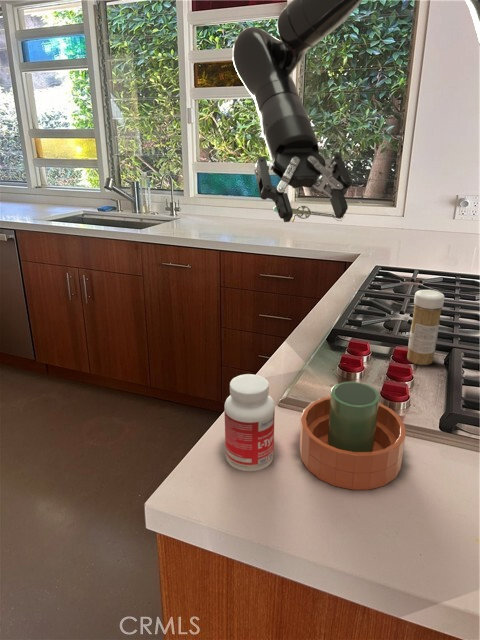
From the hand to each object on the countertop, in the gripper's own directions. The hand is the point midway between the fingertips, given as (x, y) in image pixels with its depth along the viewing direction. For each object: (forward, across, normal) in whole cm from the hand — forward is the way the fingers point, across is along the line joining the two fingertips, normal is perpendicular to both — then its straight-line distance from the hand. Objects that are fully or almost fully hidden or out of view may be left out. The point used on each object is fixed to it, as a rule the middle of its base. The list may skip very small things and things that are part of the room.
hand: (316, 217), depth 68 cm
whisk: (-74, +59, +108) cm, 144 cm away
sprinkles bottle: (+21, +20, +17) cm, 34 cm away
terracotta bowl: (+34, -4, +4) cm, 34 cm away
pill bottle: (+31, -16, +7) cm, 35 cm away
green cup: (+33, -4, +4) cm, 33 cm away
